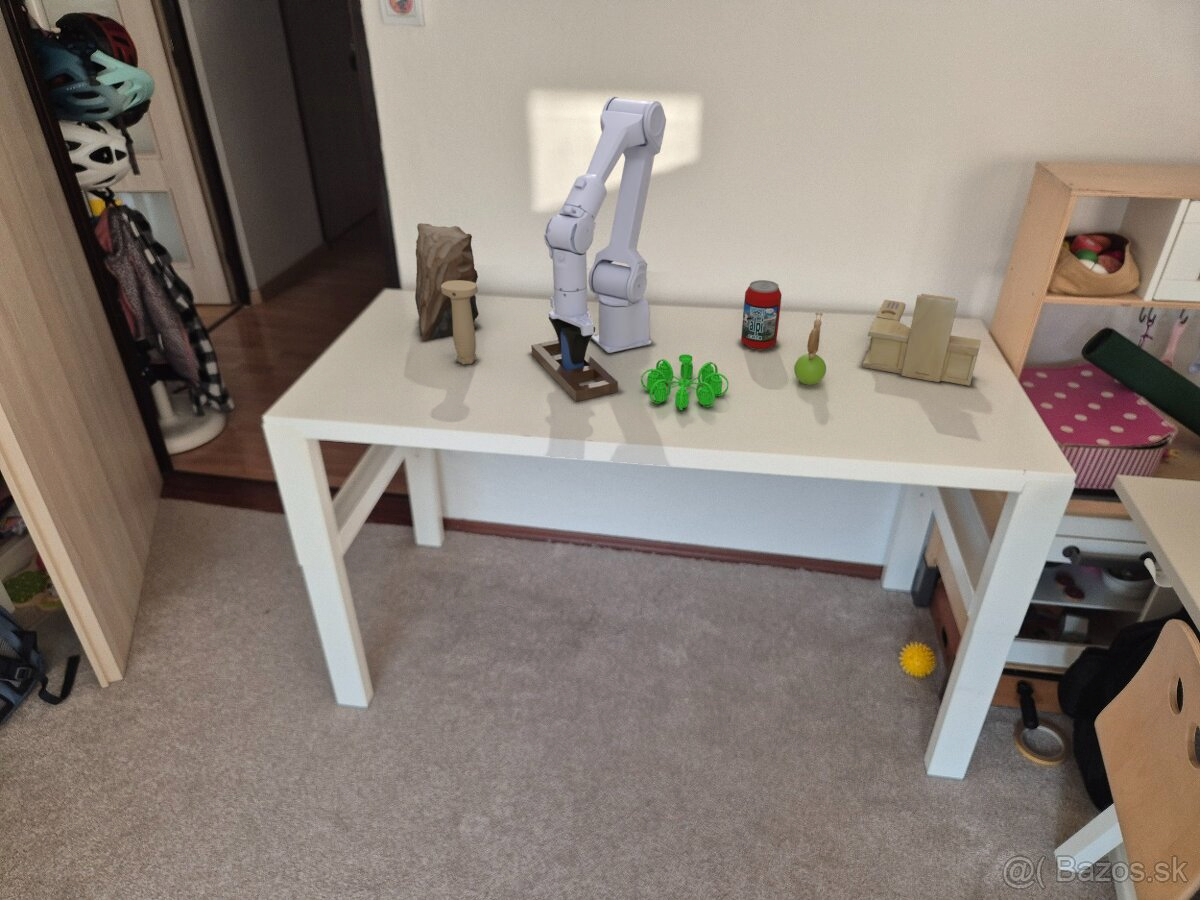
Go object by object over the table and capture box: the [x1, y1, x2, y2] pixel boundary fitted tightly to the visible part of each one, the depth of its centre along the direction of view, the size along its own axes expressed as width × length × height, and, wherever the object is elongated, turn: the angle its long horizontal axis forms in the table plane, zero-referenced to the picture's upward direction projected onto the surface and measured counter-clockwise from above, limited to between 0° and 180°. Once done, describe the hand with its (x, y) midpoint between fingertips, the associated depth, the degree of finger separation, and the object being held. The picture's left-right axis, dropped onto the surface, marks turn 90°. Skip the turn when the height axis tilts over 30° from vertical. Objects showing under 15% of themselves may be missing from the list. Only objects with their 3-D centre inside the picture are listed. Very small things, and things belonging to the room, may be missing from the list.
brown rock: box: [414, 222, 480, 342], centre depth 165 cm, size 13×13×20 cm
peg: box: [560, 331, 584, 371], centre depth 150 cm, size 4×4×8 cm
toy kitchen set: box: [862, 293, 982, 386], centre depth 151 cm, size 18×17×15 cm
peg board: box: [530, 339, 619, 403], centre depth 152 cm, size 8×21×2 cm, turn 25°
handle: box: [441, 280, 479, 366], centre depth 153 cm, size 5×6×15 cm
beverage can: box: [740, 279, 782, 351], centre depth 159 cm, size 7×7×12 cm
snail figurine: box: [793, 311, 827, 386], centre depth 145 cm, size 5×6×12 cm
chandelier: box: [640, 353, 729, 411], centre depth 143 cm, size 15×15×7 cm
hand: (572, 357), depth 151 cm, fingers closed on peg, 4 cm apart
